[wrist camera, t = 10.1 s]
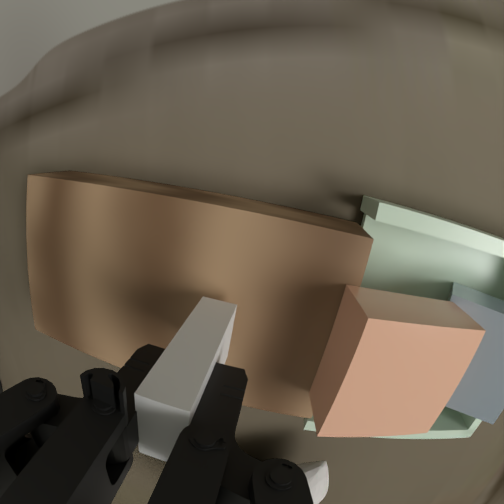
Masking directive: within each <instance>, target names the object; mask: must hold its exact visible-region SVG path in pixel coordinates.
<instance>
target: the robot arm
mask: <svg viewBox="0 0 504 504" xmlns="http://www.w3.org/2000/svg"><path fill="white" fill-rule="evenodd" d="M236 308H237V304H233V303H228V302H224V301H220V300H216V299H212V298H208V297H204V296H203V297H202V298H201V300H200V301H199V303H198V304H197V305H196V307H195V308H194V310H193V311H192V312H191V314H190V315H189V317H188V318H187V319H186V321H185V322H184V324H183V325H182V326H181V328H180V329H179V331H178V332H177V333H176V335H175V336H174V338H173V339H172V340H171V342H170V343H169V345H168V346H167V348H166V349H164V348H161V347H158V346H155V345H151V344H146V345H144V346H142V347H140V348H138V349H137V350H136V351H135V352H134V353H133V355H132V356H131V357H130V359H128V361H127V362H126V363H125V365H124V366H123V367H122V368H121V369H120V370H119V371H118V373H116V372H114V371H113V370H109V369H105V368H94V369H90V370H87V371H85V372H84V373H82V374H81V375H80V378H81V383H82V389H83V394H84V397H83V398H76V397H71V396H66V395H61V394H57V391H56V388H55V386H54V385H53V384H52V383H51V382H50V381H48V380H46V379H43V378H39V377H37V378H29V379H26V380H24V381H22V382H20V383H18V384H16V385H15V386H13V387H11V388H9V389H8V390H6V391H4V392H2V386H1V382H0V504H111V502H112V501H113V499H114V497H115V495H116V493H117V491H118V489H119V488H120V486H121V484H122V482H123V480H124V478H125V477H126V475H127V473H128V471H129V469H130V467H131V466H132V462H133V454H132V453H133V451H134V449H135V448H136V446H137V444H138V446H139V452H141V453H143V454H146V455H149V456H151V457H154V458H157V459H160V460H163V461H166V465H165V467H164V469H163V471H162V473H161V476H160V478H159V480H158V482H157V484H156V487H155V489H154V491H153V493H152V495H151V497H150V500H149V502H148V504H314V503H313V499H312V496H311V492H310V488H309V485H308V481H307V478H306V476H305V474H304V472H303V470H302V469H301V468H300V467H299V466H297V465H296V464H295V463H293V462H290V461H288V460H285V459H277V458H275V459H269V460H265V461H263V462H261V461H259V460H257V459H255V458H253V457H251V456H249V455H248V454H246V453H245V452H243V451H242V450H241V449H240V448H239V446H238V444H237V443H236V440H235V430H236V426H237V422H238V418H239V414H240V410H241V406H242V402H243V398H244V394H245V390H246V386H247V382H248V378H247V375H246V372H245V370H244V369H241V368H237V367H233V366H229V365H225V362H226V359H227V356H228V351H229V346H230V340H231V335H232V330H233V324H234V319H235V314H236Z"/></svg>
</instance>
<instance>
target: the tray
mask: <svg viewBox="0 0 504 504" xmlns="http://www.w3.org/2000/svg"><path fill="white" fill-rule="evenodd" d="M360 210H361V211H362V212H364V215H363V220H362V224H361V227H362V228H363V229H364V230H365V231H366V232H367V233H368V234H369V235H370V236H371V237H372V238H373V239H374V240H373V244H372V248H371V251H370V255H369V259H368V262H367V266H366V269H365V273H364V276H363V279H362V283H361V286H360V287H364V288H370V289H376V290H382V291H388V292H394V293H400V294H406V295H413V296H419V297H425V298H431V299H438V300H444V301H447V300H448V297H449V294H450V291H451V288H452V285H453V282H456V283H458V284H461V285H464V286H467V287H469V288H472V289H474V290H477V291H480V292H482V293H485V294H488V295H490V296H493V297H495V298H498V299H500V300H503V301H504V238H501V237H499V236H496V235H493V234H490V233H488V232H485V231H482V230H479V229H476V228H473V227H470V226H467V225H464V224H461V223H458V222H455V221H452V220H449V219H446V218H442V217H439V216H436V215H433V214H429V213H426V212H423V211H419V210H416V209H413V208H409V207H406V206H402V205H398V204H395V203H391V202H388V201H384V200H380V199H376V198H373V197H369V196H365V195H363V199H362V204H361V208H360ZM481 421H482V420H480V419H477V418H474V417H472V416H469V415H466V414H464V413H461V412H459V411H456V410H453V409H451V408H448V407H446V406H445V407H444V409H443V410H442V412H441V413H440V415H439V416H438V418H437V419H436V421H435V422H434V424H433V425H432V427H431V428H430V430H429V431H428V432H427V433H421V434H410V435H397V436H378V437H377V438H399V439H444V438H465V437H470V436H471V435H472V434H473V432H474V431H475V430H476V428H477V427H478V426H479V424H480V423H481ZM304 430H310V431H316V428H315V423H314V418H313V415H312V418H311V419H310V418H304Z"/></svg>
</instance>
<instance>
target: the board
mask: <svg viewBox="0 0 504 504" xmlns="http://www.w3.org/2000/svg"><path fill="white" fill-rule="evenodd" d="M26 238H27V261H28V274H29V285H30V295H31V303H32V310H33V317H34V324H35V329H36V330H38V331H40V332H42V333H44V334H46V335H48V336H50V337H52V338H54V339H56V340H58V341H60V342H62V343H64V344H67V345H69V346H71V347H73V348H75V349H77V350H80V351H82V352H84V353H86V354H89V355H91V356H93V357H96V358H98V359H100V360H103V361H105V362H108V363H110V364H113V365H115V366H118V367H120V368H122V367H123V366H124V365H125V363H126V362H127V361H128V359H130V357H131V356H132V355H133V353H134V352H135V351H136V350H137V349H138V348H140V347H142V346H144V345H146V344H151V345H155V346H158V347H161V348H164V349H166V348H167V346H168V345H169V343H170V342H171V340H172V339H173V338H174V336H175V335H176V333H177V332H178V331H179V329H180V328H181V326H182V325H183V324H184V322H185V321H186V319H187V318H188V317H189V315H190V314H191V312H192V311H193V310H194V308H195V307H196V305H197V304H198V303H199V301H200V300H201V298H202V297H203V296H204V297H208V298H212V299H216V300H220V301H224V302H228V303H233V304H237V308H236V314H235V319H234V324H233V330H232V335H231V340H230V346H229V351H228V356H227V359H226V362H225V365H229V366H233V367H237V368H241V369H244V370H245V372H246V375H247V378H248V382H247V386H246V390H245V394H244V398H243V402H242V405H243V406H248V407H252V408H257V409H261V410H266V411H271V412H276V413H281V414H287V415H292V416H298V417H304V418H310V419H311V418H312V415H313V412H312V407H311V402H310V397H309V391H310V389H311V386H312V383H313V381H314V378H315V376H316V373H317V370H318V368H319V365H320V362H321V359H322V357H323V354H324V351H325V348H326V345H327V343H328V340H329V337H330V334H331V331H332V328H333V325H334V322H335V319H336V316H337V313H338V310H339V307H340V304H341V300H342V297H343V294H344V291H345V287H346V284H347V285H352V286H358V287H360V286H361V283H362V279H363V276H364V273H365V269H366V266H367V262H368V259H369V255H370V251H371V248H372V244H373V240H374V239H373V238H372V237H371V236H370V235H369V234H368V233H367V232H366V231H365V230H364V229H363V228H362V227H361V226H360V225H359V224H358V223H356V222H352V221H348V220H344V219H339V218H335V217H331V216H326V215H322V214H318V213H313V212H309V211H304V210H299V209H295V208H290V207H285V206H281V205H276V204H271V203H266V202H261V201H256V200H251V199H246V198H241V197H236V196H230V195H225V194H220V193H214V192H209V191H203V190H197V189H192V188H186V187H180V186H174V185H168V184H162V183H155V182H149V181H142V180H136V179H129V178H122V177H115V176H108V175H100V174H93V173H85V172H77V171H60V172H49V173H40V174H30V175H28V181H27V203H26Z"/></svg>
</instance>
